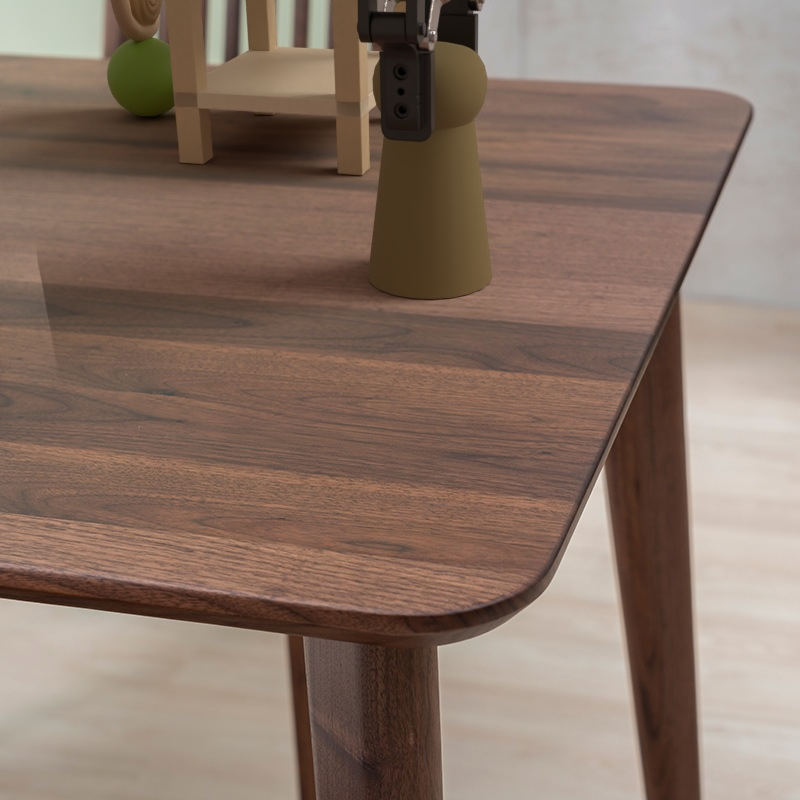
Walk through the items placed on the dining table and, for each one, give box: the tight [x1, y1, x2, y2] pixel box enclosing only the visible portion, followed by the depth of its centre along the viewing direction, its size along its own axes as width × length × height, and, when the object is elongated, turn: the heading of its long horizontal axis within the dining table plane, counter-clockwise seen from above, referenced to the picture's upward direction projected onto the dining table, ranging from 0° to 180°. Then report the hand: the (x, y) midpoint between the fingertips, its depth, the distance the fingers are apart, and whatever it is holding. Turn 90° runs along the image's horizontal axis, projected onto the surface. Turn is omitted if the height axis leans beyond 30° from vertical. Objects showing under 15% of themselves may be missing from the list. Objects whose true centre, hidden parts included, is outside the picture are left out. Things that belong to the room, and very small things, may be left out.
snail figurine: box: [106, 0, 175, 117], centre depth 86 cm, size 5×6×12 cm
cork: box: [367, 41, 493, 300], centre depth 59 cm, size 6×6×11 cm
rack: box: [164, 0, 406, 176], centre depth 81 cm, size 12×14×12 cm
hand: (432, 114), depth 57 cm, fingers open, 8 cm apart
